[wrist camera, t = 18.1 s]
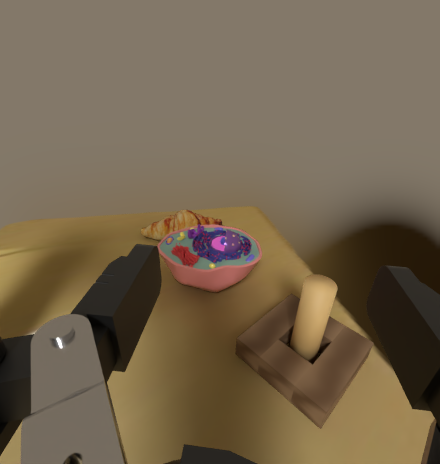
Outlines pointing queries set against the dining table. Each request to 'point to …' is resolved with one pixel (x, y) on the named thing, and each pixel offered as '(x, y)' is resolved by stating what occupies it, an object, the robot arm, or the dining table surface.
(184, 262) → the cell model
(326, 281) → the peg
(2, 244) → the dining table surface
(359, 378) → the dining table surface
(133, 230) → the dining table surface
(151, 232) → the croissant
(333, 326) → the hole block
